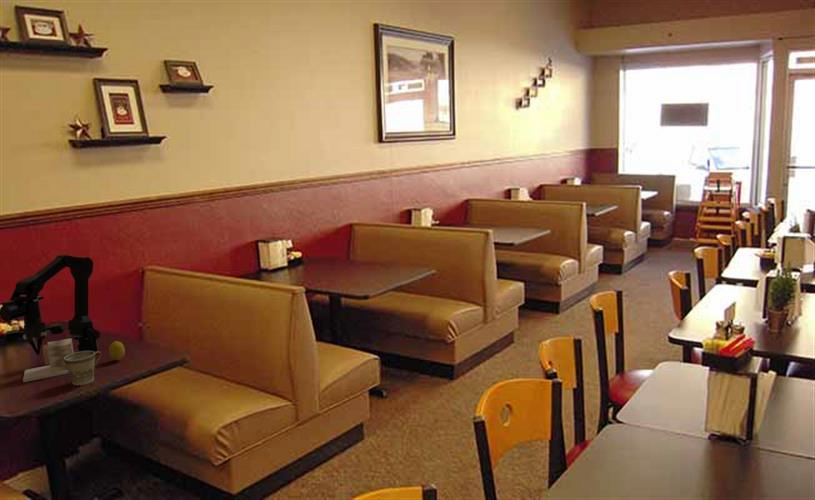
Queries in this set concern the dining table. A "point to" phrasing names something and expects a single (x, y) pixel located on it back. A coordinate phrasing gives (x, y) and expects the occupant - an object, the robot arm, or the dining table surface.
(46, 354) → the shaft
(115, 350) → the lemon
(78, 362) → the ceramic cup
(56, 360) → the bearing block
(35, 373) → the mounting plate
